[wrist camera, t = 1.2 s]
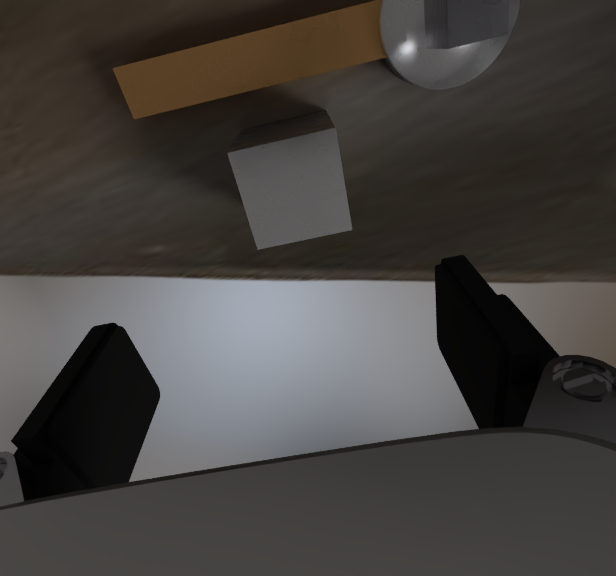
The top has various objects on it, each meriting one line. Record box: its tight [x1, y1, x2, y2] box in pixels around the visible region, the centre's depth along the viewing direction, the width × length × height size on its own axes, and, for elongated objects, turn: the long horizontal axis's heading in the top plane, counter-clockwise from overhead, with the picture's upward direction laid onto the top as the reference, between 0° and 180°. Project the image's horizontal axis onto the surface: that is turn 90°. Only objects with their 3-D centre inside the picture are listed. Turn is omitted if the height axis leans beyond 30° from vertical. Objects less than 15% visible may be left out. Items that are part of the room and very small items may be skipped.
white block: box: [227, 110, 352, 249], centre depth 26 cm, size 6×6×7 cm
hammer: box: [112, 0, 520, 119], centre depth 22 cm, size 24×8×6 cm, turn 102°
